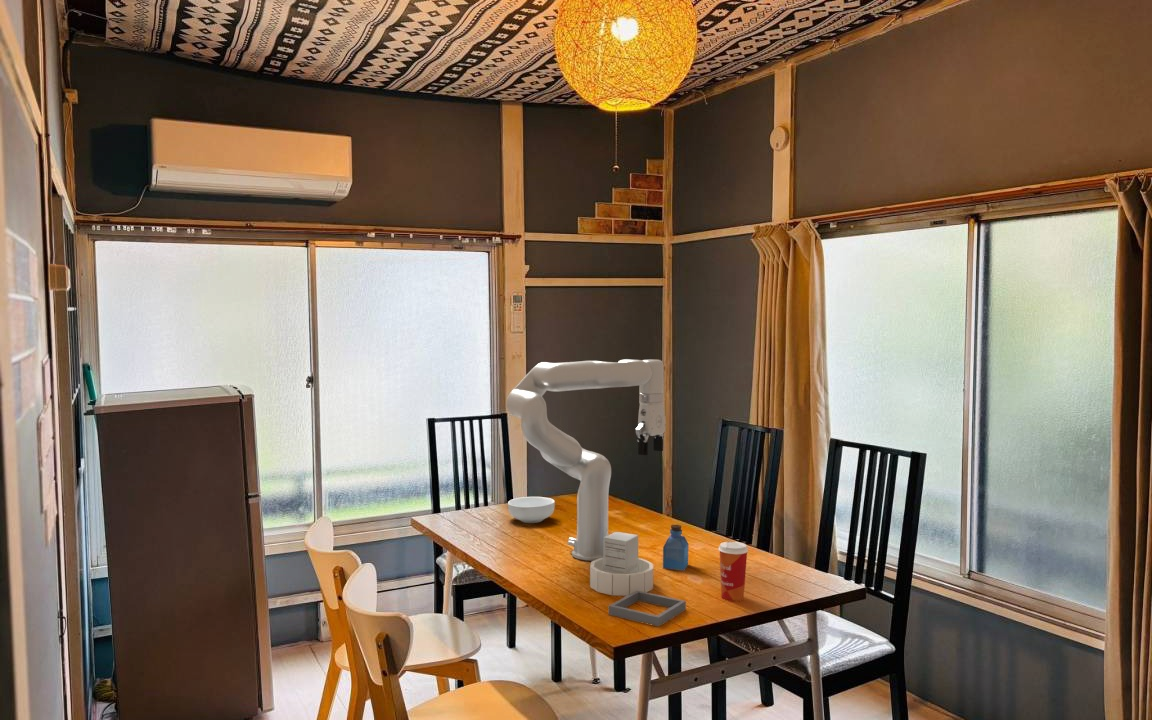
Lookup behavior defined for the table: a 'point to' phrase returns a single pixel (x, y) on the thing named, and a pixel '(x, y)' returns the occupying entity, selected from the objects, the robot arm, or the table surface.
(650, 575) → the bowl
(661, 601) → the gray square frame
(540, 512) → the cereal bowl
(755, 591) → the table surface
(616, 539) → the supplement box
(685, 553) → the perfume bottle
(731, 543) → the paper cup
